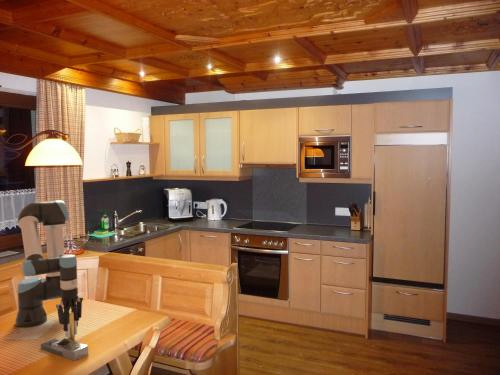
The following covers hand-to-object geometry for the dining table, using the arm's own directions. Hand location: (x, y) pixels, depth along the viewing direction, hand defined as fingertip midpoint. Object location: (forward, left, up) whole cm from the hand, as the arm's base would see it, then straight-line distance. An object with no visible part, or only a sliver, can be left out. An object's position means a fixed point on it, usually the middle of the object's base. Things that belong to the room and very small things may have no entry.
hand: (71, 335), depth 200 cm
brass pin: (0, 0, -3) cm, 3 cm away
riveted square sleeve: (+7, -9, -3) cm, 12 cm away
